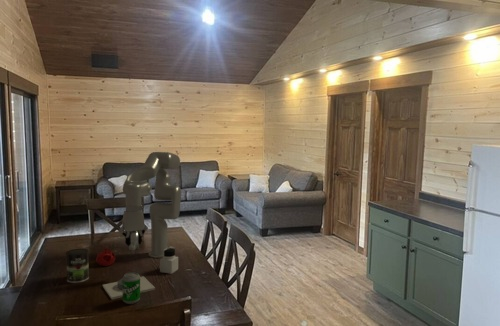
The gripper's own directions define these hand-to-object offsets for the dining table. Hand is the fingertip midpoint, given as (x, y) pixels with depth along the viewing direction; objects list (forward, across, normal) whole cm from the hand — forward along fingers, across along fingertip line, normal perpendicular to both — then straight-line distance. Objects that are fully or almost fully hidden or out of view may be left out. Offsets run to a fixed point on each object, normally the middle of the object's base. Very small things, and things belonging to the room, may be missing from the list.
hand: (133, 243), depth 196 cm
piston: (+3, 0, 0) cm, 3 cm away
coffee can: (+18, +24, -14) cm, 33 cm away
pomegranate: (+18, +7, -28) cm, 34 cm away
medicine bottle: (+18, -19, -1) cm, 26 cm away
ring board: (+18, +6, +10) cm, 22 cm away
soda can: (+19, +8, +24) cm, 32 cm away
